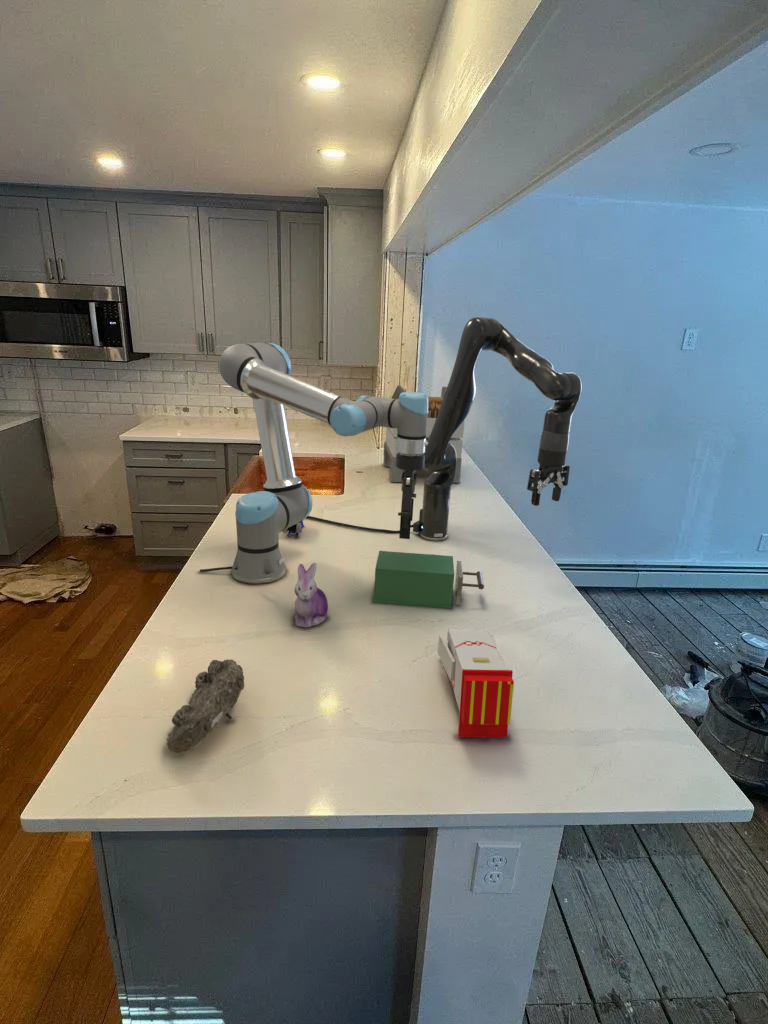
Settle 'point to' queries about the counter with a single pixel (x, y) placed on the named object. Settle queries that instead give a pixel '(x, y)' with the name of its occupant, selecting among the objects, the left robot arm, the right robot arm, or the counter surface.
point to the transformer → (455, 440)
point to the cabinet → (414, 579)
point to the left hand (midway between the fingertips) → (406, 529)
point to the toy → (478, 682)
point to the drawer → (460, 583)
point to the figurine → (309, 599)
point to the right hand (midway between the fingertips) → (545, 502)
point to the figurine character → (294, 529)
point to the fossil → (206, 705)
